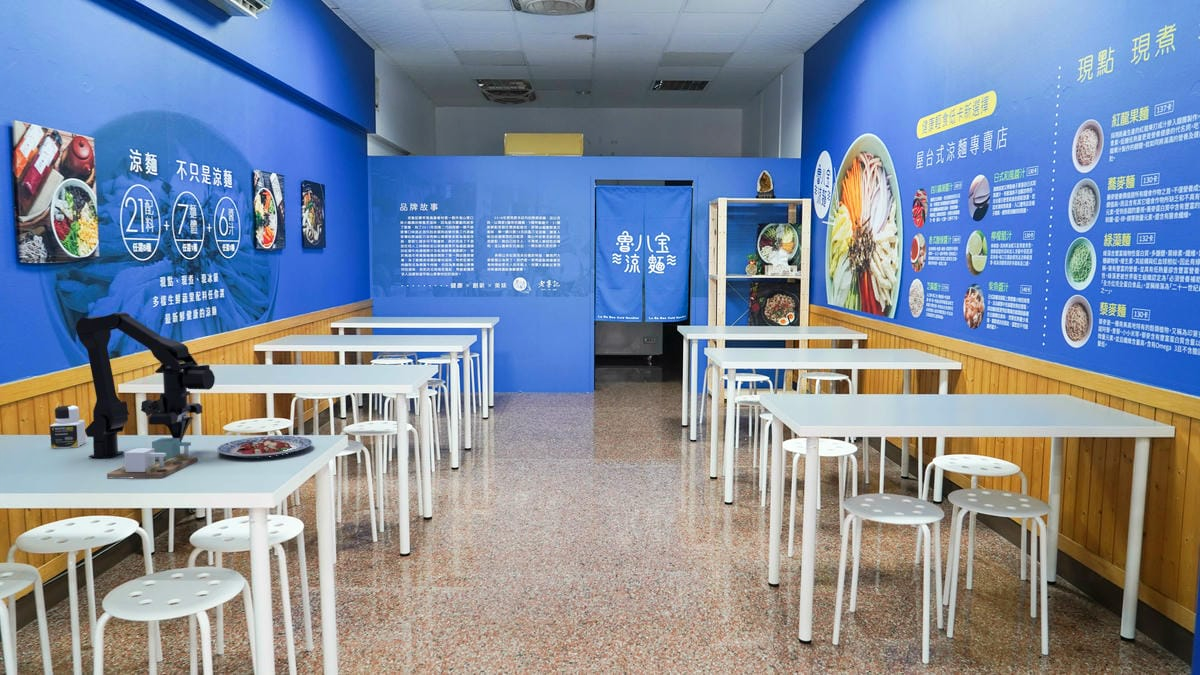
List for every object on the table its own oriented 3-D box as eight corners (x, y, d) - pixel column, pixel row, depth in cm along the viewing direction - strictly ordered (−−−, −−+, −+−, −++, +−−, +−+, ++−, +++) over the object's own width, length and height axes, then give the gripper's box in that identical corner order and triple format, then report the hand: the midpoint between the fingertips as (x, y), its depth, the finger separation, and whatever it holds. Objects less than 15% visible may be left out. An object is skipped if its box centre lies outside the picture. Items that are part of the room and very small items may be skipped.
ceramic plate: (201, 453, 246) (200, 443, 246) (284, 439, 266) (283, 429, 265) (243, 467, 229) (243, 456, 229) (329, 451, 249) (329, 441, 249)
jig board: (147, 460, 236) (147, 452, 236) (197, 460, 236) (197, 453, 236) (107, 478, 217) (106, 469, 217) (161, 478, 217) (161, 469, 217)
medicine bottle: (50, 448, 251) (48, 408, 250) (60, 443, 258) (57, 404, 257) (77, 447, 253) (75, 407, 252) (86, 442, 260) (84, 403, 258)
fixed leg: (136, 467, 222) (135, 448, 222) (170, 467, 222) (169, 448, 222) (125, 472, 217) (124, 452, 217) (160, 472, 217) (159, 452, 217)
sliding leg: (162, 455, 235) (161, 438, 235) (194, 456, 235) (194, 438, 235) (152, 460, 230) (151, 441, 230) (185, 460, 230) (185, 441, 230)
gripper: (163, 384, 247) (166, 437, 248) (127, 394, 228) (130, 451, 230) (202, 384, 247) (204, 437, 248) (169, 394, 228) (171, 451, 229)
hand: (177, 444), depth 239 cm, fingers closed
